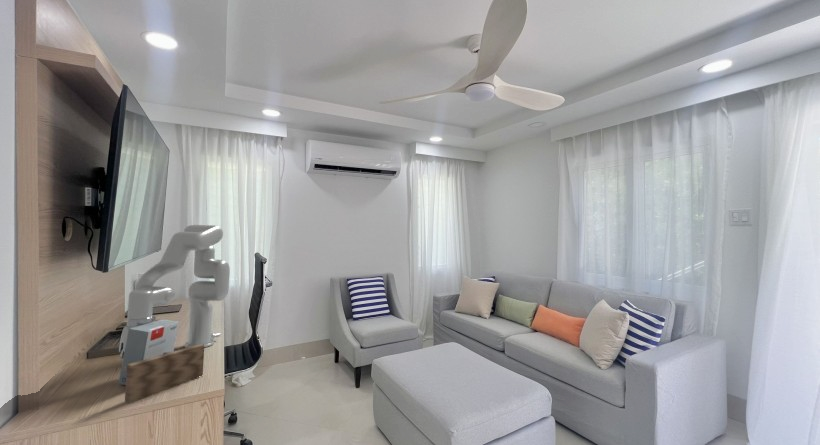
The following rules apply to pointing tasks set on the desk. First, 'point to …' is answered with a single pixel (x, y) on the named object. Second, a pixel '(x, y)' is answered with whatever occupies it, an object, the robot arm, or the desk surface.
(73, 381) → the desk surface
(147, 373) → the walnut board
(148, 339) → the hard drive box
